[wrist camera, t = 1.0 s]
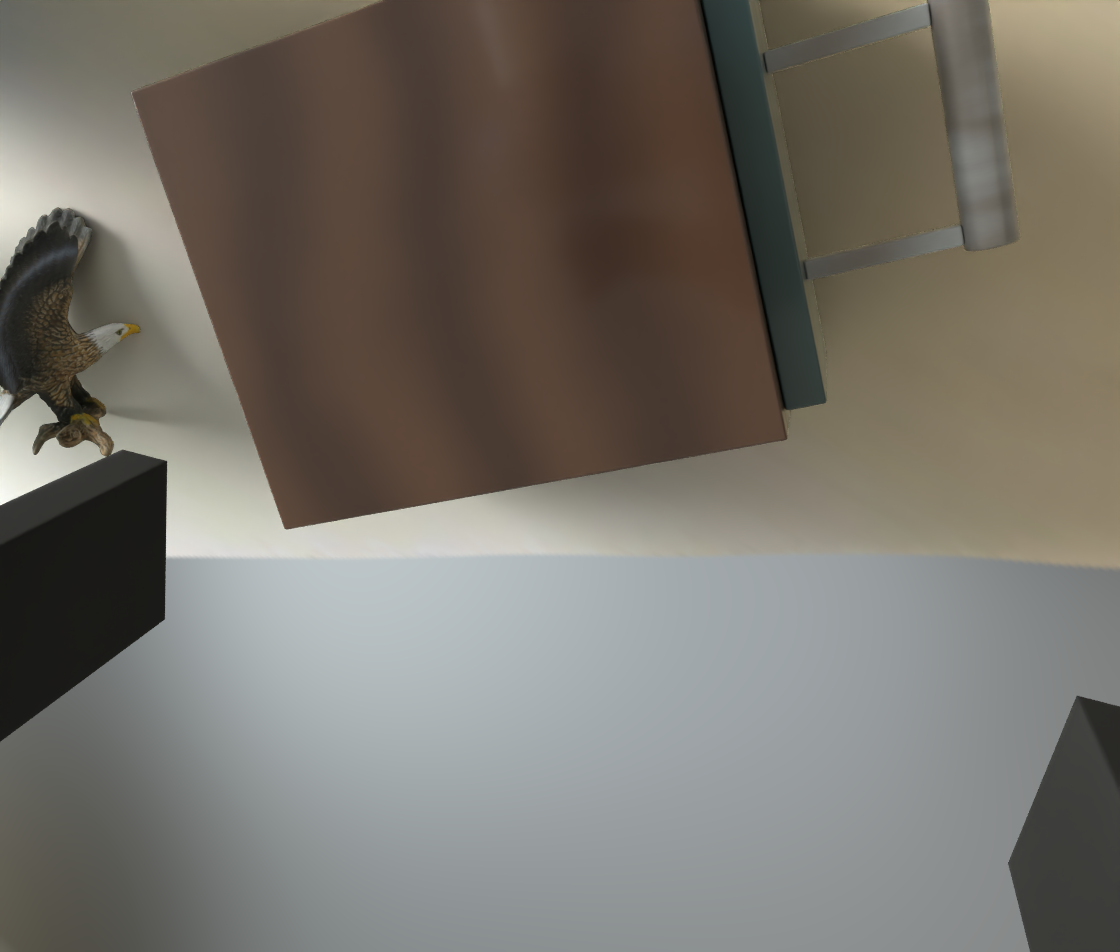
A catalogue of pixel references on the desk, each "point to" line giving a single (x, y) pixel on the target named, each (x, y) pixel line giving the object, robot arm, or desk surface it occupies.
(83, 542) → the robot arm
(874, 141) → the desk surface
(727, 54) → the drawer
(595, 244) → the cabinet
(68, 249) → the eagle figurine
